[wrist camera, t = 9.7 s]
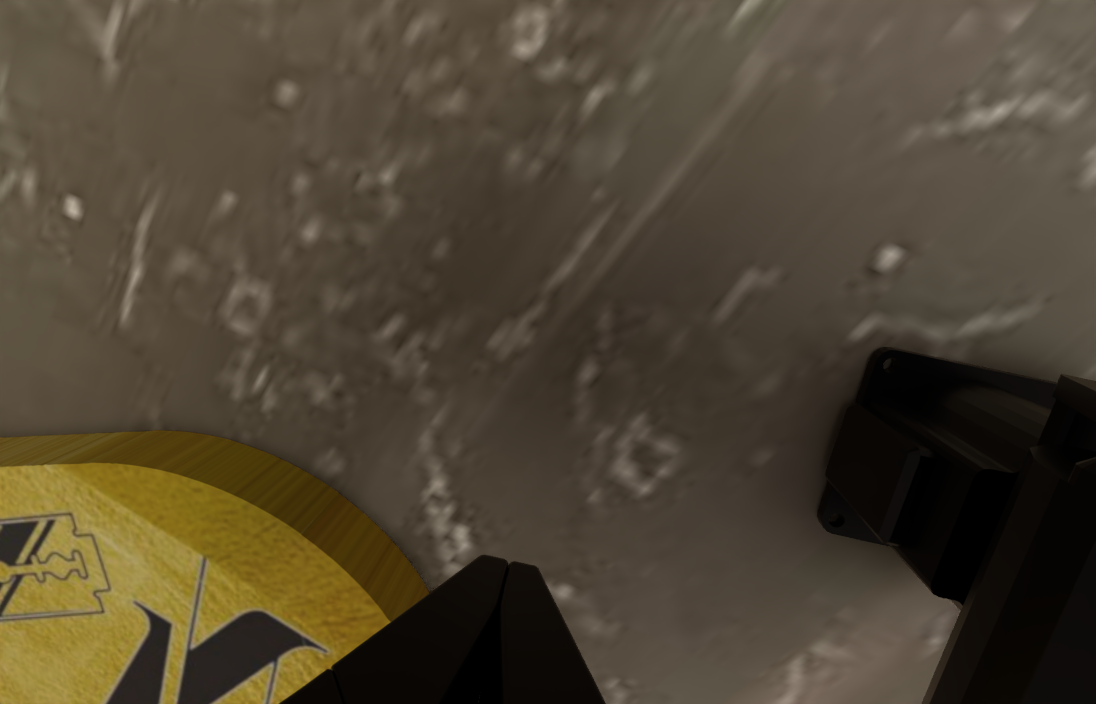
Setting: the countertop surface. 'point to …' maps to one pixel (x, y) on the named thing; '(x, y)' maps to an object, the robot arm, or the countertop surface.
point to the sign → (180, 572)
